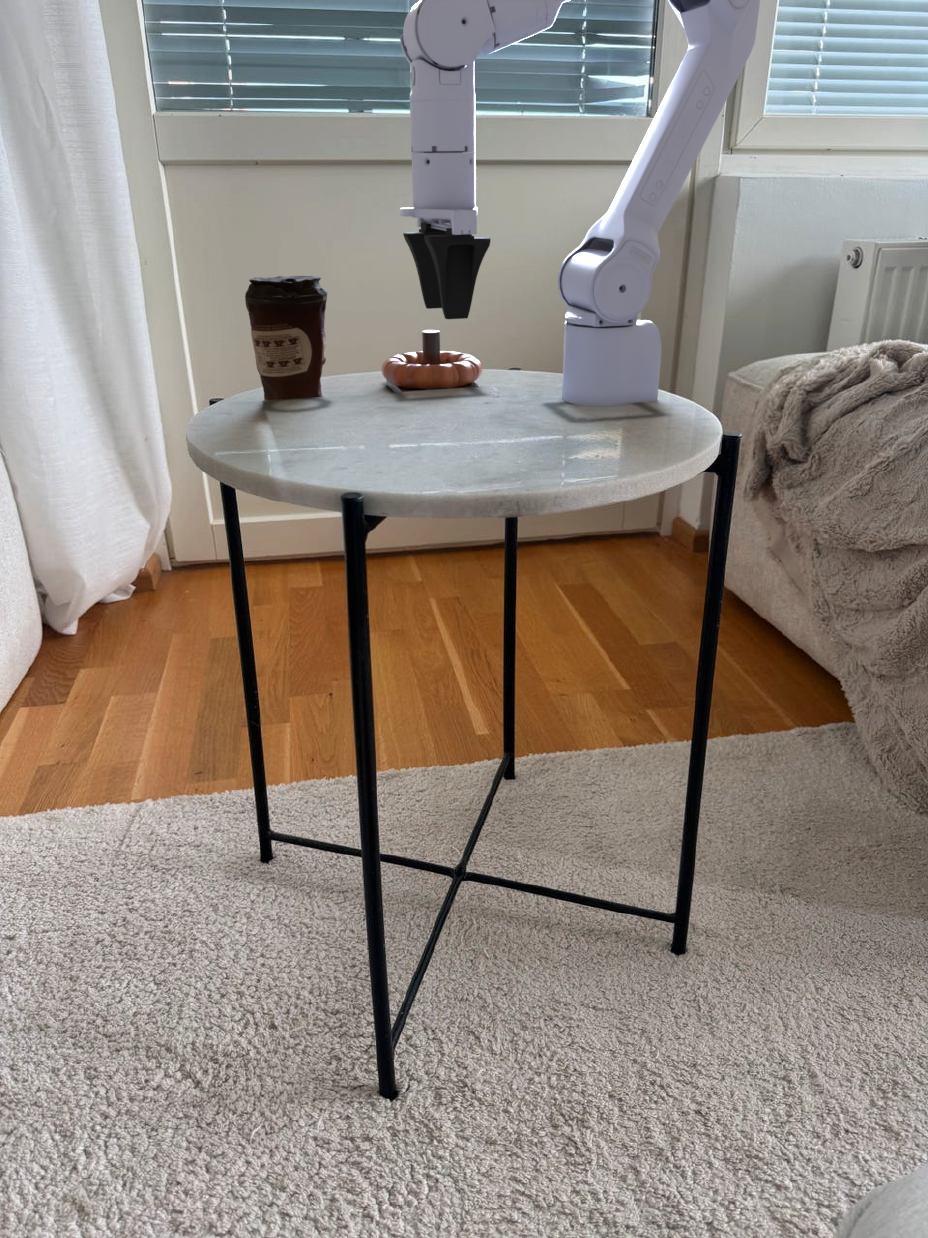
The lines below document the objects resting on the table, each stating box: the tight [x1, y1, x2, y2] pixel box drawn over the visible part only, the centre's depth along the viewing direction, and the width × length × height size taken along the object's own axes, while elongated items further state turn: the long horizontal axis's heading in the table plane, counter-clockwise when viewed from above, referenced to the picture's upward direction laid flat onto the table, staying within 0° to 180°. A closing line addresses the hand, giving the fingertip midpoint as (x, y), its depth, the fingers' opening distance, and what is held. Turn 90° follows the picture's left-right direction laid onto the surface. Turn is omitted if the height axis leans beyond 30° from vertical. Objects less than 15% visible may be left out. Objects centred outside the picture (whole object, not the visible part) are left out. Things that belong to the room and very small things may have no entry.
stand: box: [385, 329, 481, 393], centre depth 104 cm, size 9×9×6 cm
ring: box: [381, 350, 483, 390], centre depth 104 cm, size 11×11×3 cm
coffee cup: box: [244, 275, 328, 402], centre depth 96 cm, size 9×8×13 cm
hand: (446, 312), depth 87 cm, fingers open, 7 cm apart
